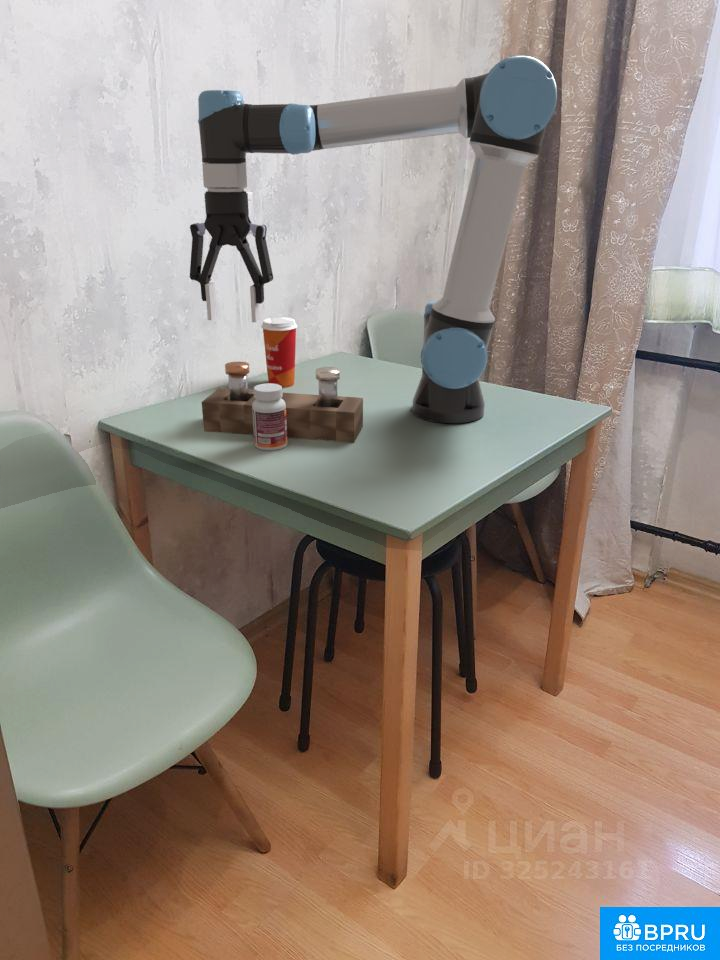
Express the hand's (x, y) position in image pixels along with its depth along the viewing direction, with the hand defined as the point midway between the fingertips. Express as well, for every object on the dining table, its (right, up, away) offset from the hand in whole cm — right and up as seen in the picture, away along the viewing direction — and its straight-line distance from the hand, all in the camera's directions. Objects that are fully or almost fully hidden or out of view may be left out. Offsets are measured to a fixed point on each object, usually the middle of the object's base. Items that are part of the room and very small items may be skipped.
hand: (234, 319), depth 139 cm
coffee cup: (+5, -8, +35) cm, 36 cm away
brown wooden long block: (+9, -20, +7) cm, 23 cm away
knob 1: (0, -14, +6) cm, 16 cm away
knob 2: (+18, -16, +3) cm, 24 cm away
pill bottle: (+7, -24, -1) cm, 25 cm away
